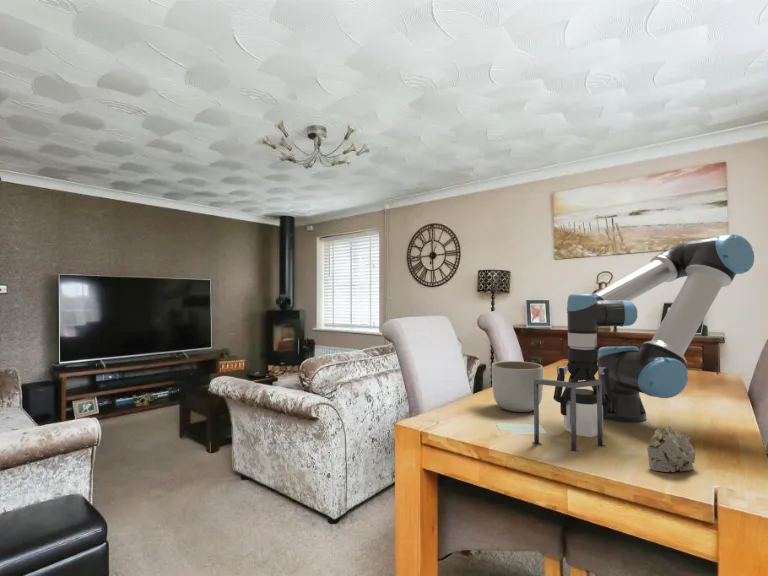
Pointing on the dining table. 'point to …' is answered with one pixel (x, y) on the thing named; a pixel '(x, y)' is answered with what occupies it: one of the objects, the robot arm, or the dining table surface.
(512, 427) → the pad
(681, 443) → the rock
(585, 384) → the metal railing
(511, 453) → the dining table surface
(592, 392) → the jar
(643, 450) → the dining table surface
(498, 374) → the planter
